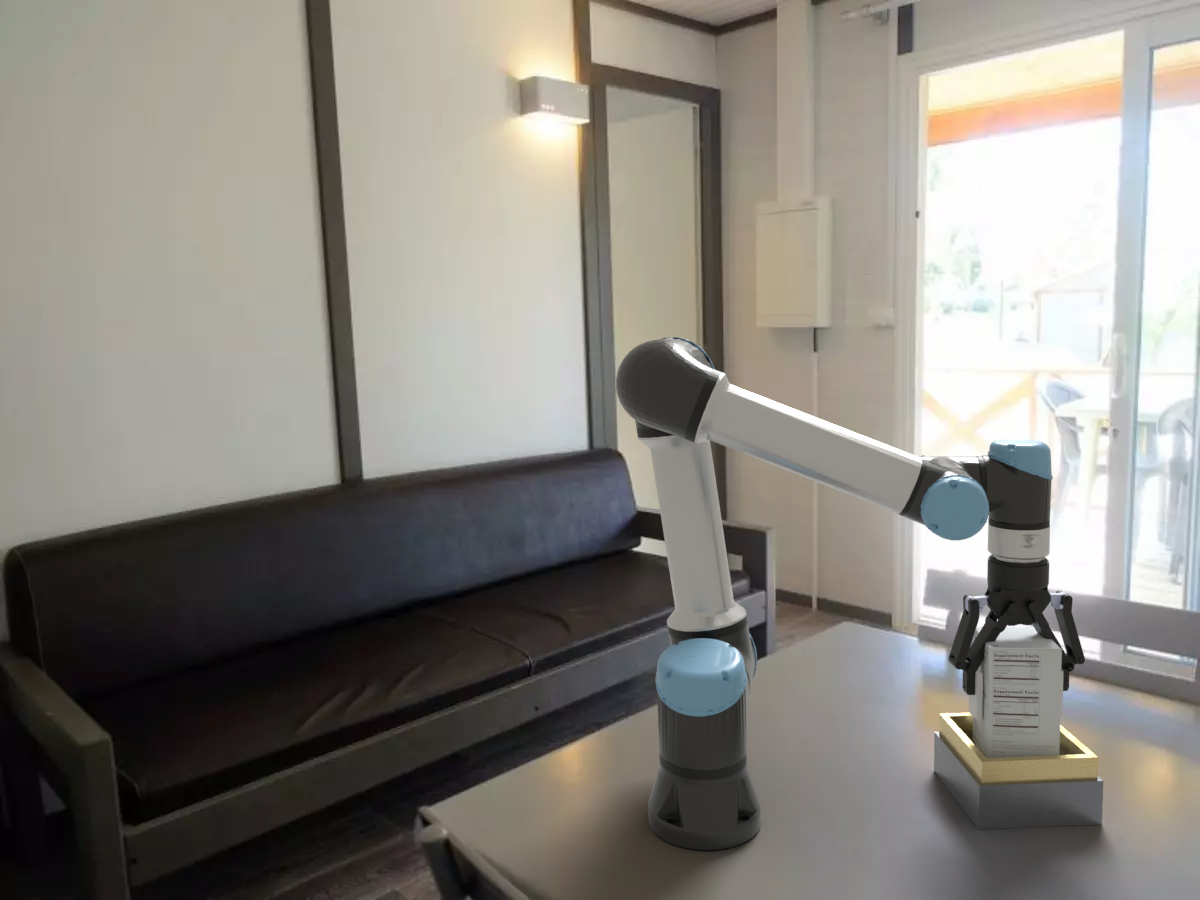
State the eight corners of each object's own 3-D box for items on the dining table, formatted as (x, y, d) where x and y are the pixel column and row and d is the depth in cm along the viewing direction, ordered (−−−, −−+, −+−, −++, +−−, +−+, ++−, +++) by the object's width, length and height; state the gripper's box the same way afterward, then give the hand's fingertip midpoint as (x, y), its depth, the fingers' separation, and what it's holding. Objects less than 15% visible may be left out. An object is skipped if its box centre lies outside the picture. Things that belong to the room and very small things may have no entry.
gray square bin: (978, 829, 121) (979, 763, 120) (934, 770, 137) (934, 712, 136) (1101, 824, 121) (1104, 758, 120) (1042, 766, 137) (1044, 707, 136)
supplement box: (1060, 772, 123) (1064, 649, 121) (986, 769, 125) (989, 648, 122) (1039, 740, 132) (1042, 625, 130) (970, 738, 134) (972, 624, 132)
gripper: (943, 566, 121) (942, 729, 124) (1118, 559, 121) (1113, 722, 124) (923, 552, 128) (922, 706, 131) (1088, 545, 128) (1083, 700, 131)
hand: (1014, 714), depth 128 cm, fingers open, 10 cm apart
